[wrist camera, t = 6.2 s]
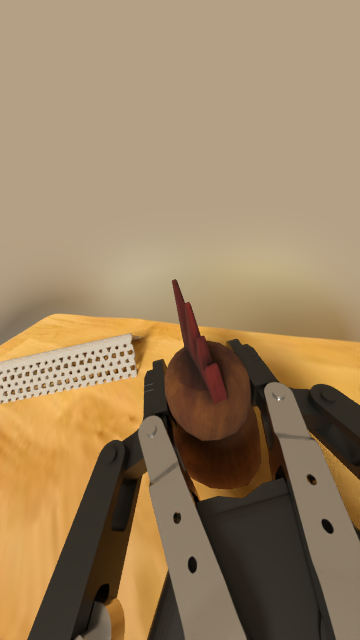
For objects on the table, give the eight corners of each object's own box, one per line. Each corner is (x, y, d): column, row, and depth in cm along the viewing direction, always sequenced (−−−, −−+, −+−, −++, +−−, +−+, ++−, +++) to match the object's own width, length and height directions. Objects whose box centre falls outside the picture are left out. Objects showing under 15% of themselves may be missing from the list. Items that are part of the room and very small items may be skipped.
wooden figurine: (187, 405, 18) (138, 274, 9) (243, 404, 17) (247, 254, 8) (184, 496, 12) (57, 388, 4) (266, 502, 11) (352, 372, 3)
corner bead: (145, 337, 30) (135, 315, 27) (139, 381, 22) (124, 358, 20) (0, 369, 32) (-25, 352, 29) (-50, 419, 24) (-89, 403, 21)
